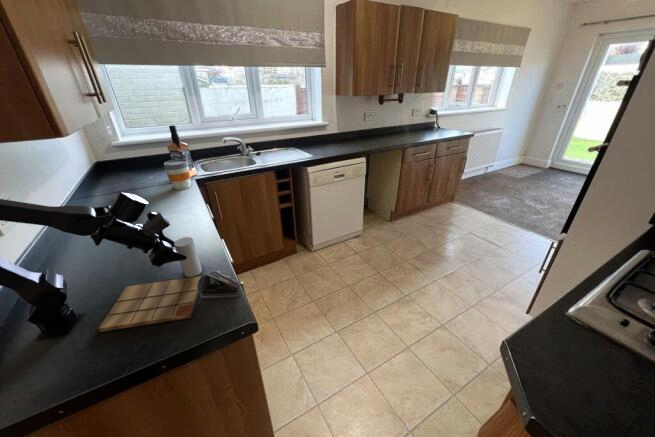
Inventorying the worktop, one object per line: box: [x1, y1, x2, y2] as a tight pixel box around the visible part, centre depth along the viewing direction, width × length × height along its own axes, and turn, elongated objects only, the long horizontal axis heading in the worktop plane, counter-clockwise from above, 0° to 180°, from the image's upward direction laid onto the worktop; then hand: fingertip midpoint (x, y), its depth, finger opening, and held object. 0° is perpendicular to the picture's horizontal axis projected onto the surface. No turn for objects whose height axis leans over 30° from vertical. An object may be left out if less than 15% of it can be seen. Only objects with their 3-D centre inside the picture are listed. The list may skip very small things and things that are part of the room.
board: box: [97, 275, 201, 333], centre depth 77 cm, size 22×16×1 cm
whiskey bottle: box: [166, 124, 198, 178], centre depth 171 cm, size 10×10×32 cm
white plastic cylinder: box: [174, 236, 203, 278], centre depth 87 cm, size 5×5×12 cm
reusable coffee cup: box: [163, 159, 192, 190], centre depth 157 cm, size 13×12×15 cm
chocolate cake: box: [197, 269, 240, 299], centre depth 81 cm, size 10×7×12 cm
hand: (182, 251), depth 85 cm, fingers open, 9 cm apart
